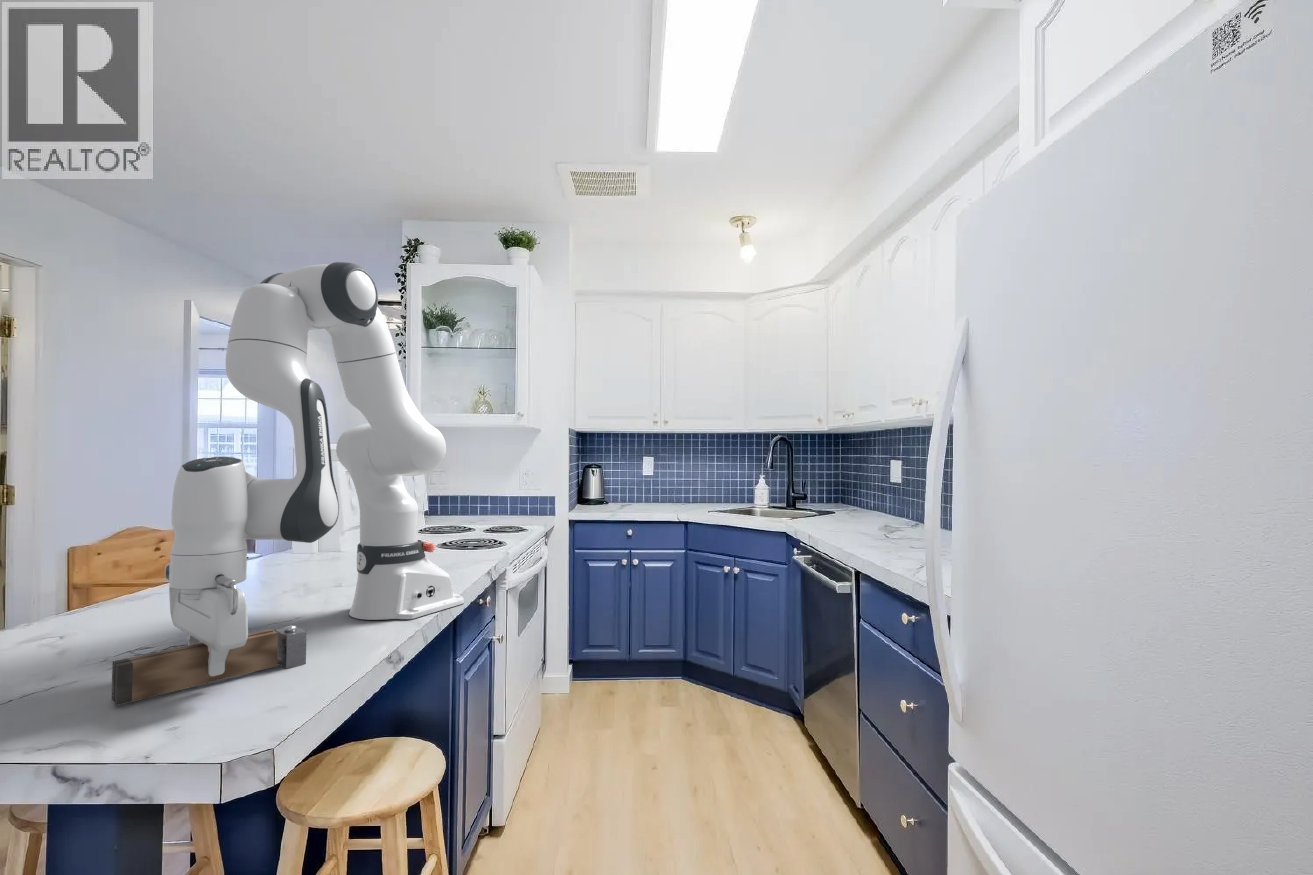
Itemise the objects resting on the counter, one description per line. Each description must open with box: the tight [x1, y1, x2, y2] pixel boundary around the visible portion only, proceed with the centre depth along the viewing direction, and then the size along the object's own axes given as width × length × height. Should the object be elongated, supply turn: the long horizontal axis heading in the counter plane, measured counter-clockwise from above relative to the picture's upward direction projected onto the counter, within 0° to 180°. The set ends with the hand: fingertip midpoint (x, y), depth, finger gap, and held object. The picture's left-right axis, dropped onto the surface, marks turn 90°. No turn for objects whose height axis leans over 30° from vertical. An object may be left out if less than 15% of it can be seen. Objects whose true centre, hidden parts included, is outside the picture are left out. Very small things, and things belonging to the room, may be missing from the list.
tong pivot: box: [273, 624, 307, 670], centre depth 95 cm, size 3×5×6 cm, turn 52°
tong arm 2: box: [113, 630, 278, 706], centre depth 85 cm, size 18×1×5 cm, turn 142°
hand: (206, 668), depth 86 cm, fingers open, 5 cm apart
